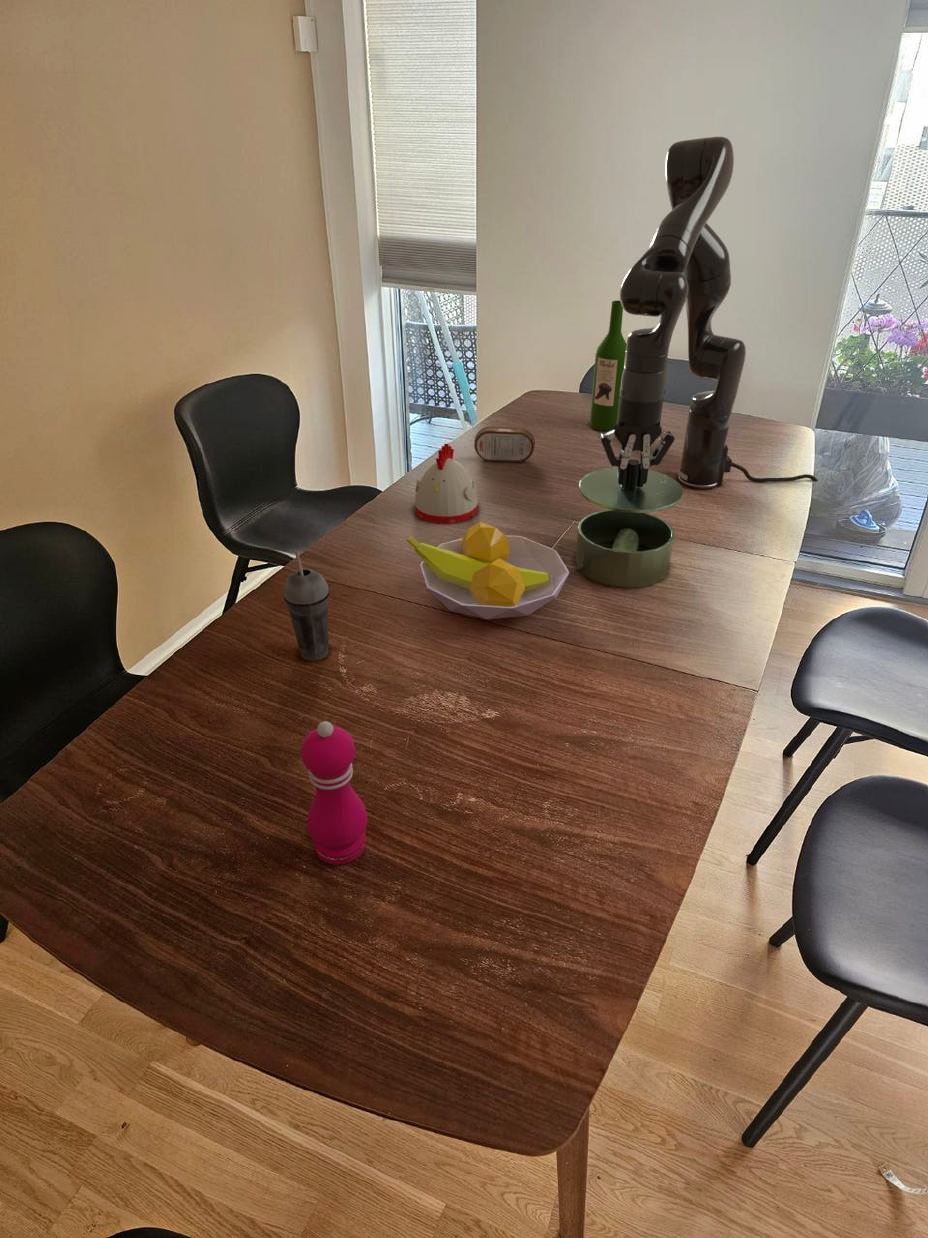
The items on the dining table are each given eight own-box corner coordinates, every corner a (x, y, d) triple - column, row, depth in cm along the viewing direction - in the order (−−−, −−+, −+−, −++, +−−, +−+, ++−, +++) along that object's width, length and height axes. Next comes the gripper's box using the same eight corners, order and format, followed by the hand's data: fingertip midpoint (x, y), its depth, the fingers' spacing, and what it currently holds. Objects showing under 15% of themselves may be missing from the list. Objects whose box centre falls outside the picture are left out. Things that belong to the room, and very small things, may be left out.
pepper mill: (313, 825, 103) (294, 704, 91) (370, 821, 103) (358, 700, 92) (309, 871, 97) (288, 747, 85) (369, 866, 97) (356, 743, 86)
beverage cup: (344, 644, 136) (332, 539, 124) (324, 669, 130) (310, 561, 119) (305, 636, 138) (290, 532, 126) (284, 660, 132) (266, 554, 121)
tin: (534, 459, 202) (535, 426, 197) (533, 464, 199) (535, 431, 195) (474, 457, 203) (474, 424, 199) (473, 461, 201) (473, 429, 196)
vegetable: (629, 581, 151) (632, 557, 149) (602, 576, 153) (604, 553, 150) (640, 547, 162) (643, 525, 160) (615, 543, 164) (617, 521, 161)
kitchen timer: (405, 517, 175) (401, 452, 167) (429, 492, 186) (427, 429, 177) (465, 527, 171) (464, 461, 163) (485, 501, 182) (486, 437, 173)
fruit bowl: (583, 576, 154) (587, 523, 148) (532, 651, 134) (535, 594, 127) (451, 547, 164) (450, 496, 158) (385, 613, 143) (382, 558, 137)
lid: (668, 471, 158) (672, 441, 154) (694, 514, 142) (700, 482, 138) (571, 473, 157) (574, 443, 154) (587, 517, 141) (590, 484, 138)
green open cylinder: (656, 541, 166) (661, 508, 161) (679, 586, 151) (685, 551, 146) (569, 543, 165) (572, 510, 161) (583, 588, 150) (586, 553, 146)
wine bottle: (585, 428, 219) (596, 303, 201) (594, 418, 226) (604, 296, 208) (618, 433, 216) (631, 306, 198) (625, 422, 223) (639, 299, 205)
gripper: (676, 385, 142) (663, 476, 152) (598, 387, 142) (590, 478, 152) (687, 399, 136) (673, 493, 146) (605, 401, 136) (596, 495, 145)
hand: (630, 485), depth 149 cm, fingers closed on lid, 2 cm apart
